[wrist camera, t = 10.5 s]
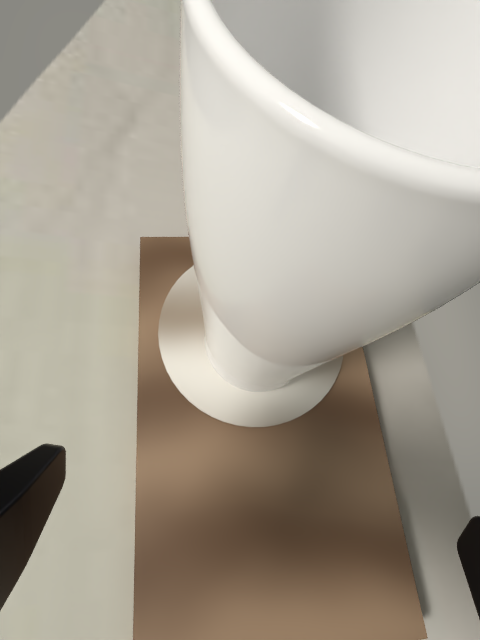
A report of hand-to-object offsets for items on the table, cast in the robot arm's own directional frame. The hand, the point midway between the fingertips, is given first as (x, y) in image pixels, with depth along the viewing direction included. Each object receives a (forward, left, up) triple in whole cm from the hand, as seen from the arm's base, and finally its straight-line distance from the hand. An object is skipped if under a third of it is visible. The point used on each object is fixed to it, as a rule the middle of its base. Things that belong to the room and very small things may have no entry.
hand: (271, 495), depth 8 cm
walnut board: (+3, -1, -10) cm, 11 cm away
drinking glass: (+6, 0, -9) cm, 11 cm away
